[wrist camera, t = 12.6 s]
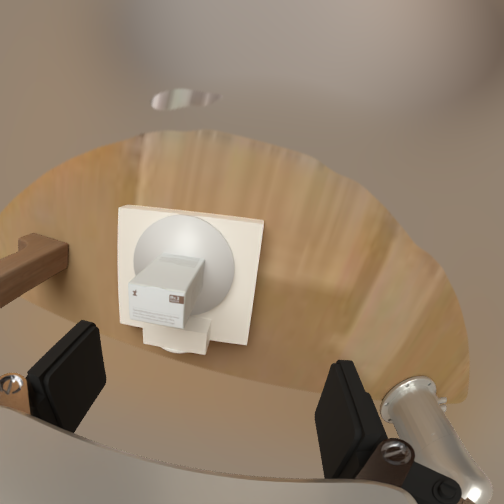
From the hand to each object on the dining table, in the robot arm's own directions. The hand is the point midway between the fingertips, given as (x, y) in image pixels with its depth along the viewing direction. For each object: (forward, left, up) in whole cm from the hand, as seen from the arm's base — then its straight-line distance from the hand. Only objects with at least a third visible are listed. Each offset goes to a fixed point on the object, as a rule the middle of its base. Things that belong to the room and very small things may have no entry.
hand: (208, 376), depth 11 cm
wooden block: (+34, +8, -32) cm, 48 cm away
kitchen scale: (+8, +8, -32) cm, 34 cm away
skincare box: (+8, +6, -28) cm, 30 cm away
